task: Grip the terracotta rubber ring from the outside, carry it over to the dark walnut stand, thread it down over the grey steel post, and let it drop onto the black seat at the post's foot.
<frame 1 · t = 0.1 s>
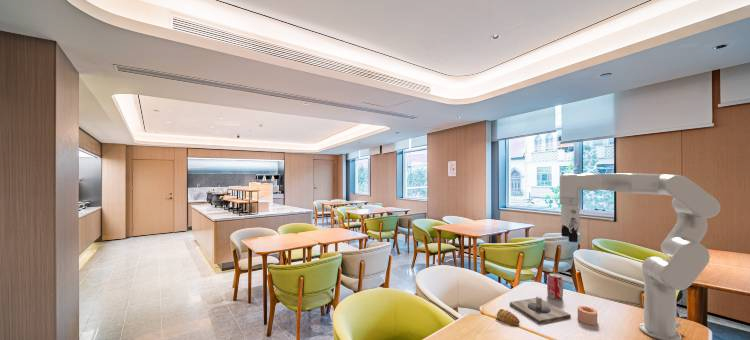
hand: (569, 239, 130), 37 cm above the table, tool pointing down, fingers open, 9 cm apart
soda can: (555, 297, 153), on the table
post stand: (538, 311, 139), on the table
ring: (587, 320, 130), on the table
brown ridged oval piece: (507, 320, 131), on the table
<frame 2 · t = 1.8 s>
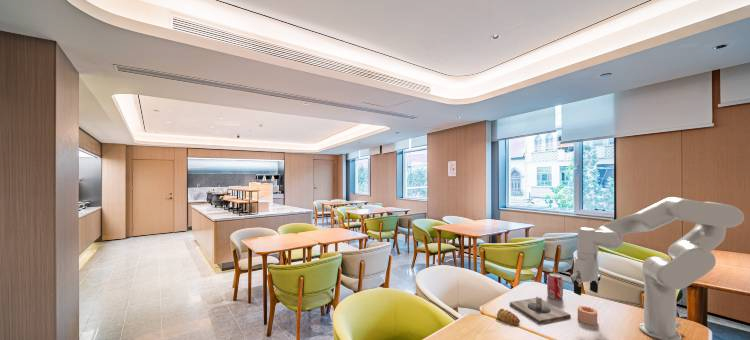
hand: (585, 292, 130), 13 cm above the table, tool pointing down, fingers open, 9 cm apart
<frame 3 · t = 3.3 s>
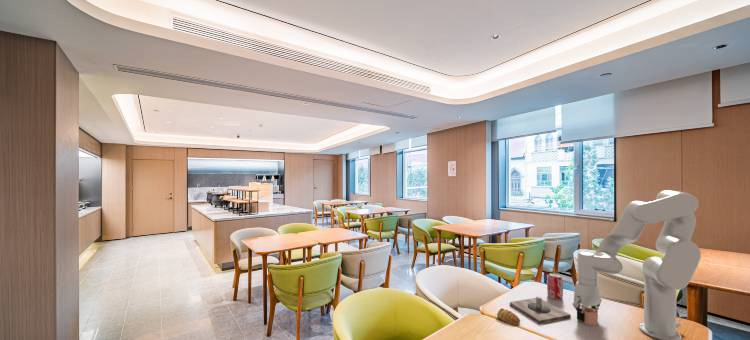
hand: (587, 318, 130), 1 cm above the table, tool pointing down, fingers closed on ring, 7 cm apart
ring: (587, 320, 130), on the table, touching gripper
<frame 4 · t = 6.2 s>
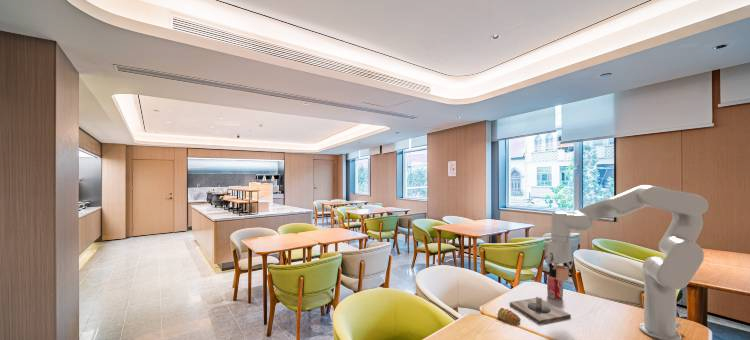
hand: (559, 275, 135), 19 cm above the table, tool pointing down, fingers closed on ring, 7 cm apart
ring: (559, 277, 135), point 18 cm above the table, touching gripper
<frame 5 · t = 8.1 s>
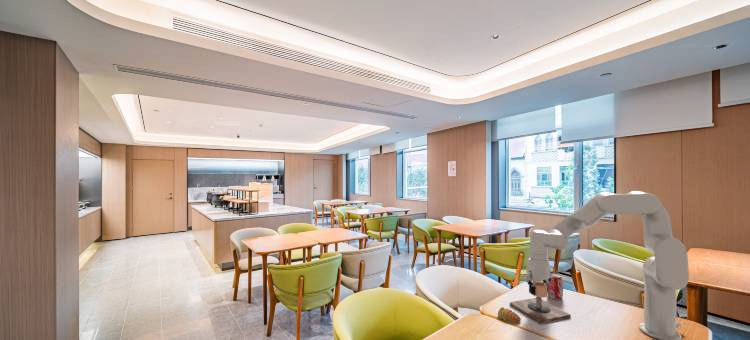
hand: (538, 292, 138), 9 cm above the table, tool pointing down, fingers closed on ring, 7 cm apart
ring: (538, 294, 138), point 8 cm above the table, touching gripper
when the fingers open (5 cm above the table, at t = 9.5 s): ring drops 2 cm, resting on post stand.
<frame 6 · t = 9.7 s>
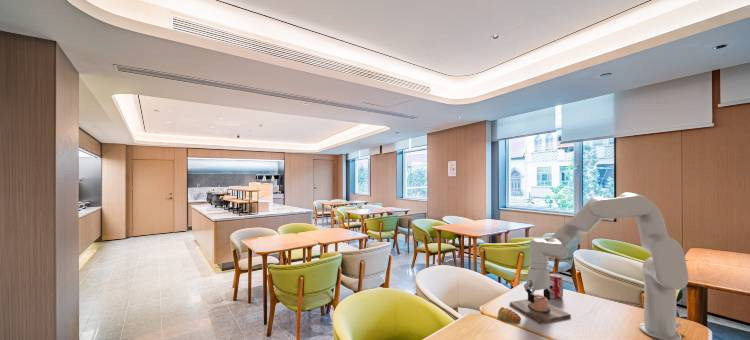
hand: (538, 300, 138), 5 cm above the table, tool pointing down, fingers open, 9 cm apart
ring: (538, 307, 138), point 2 cm above the table, touching post stand
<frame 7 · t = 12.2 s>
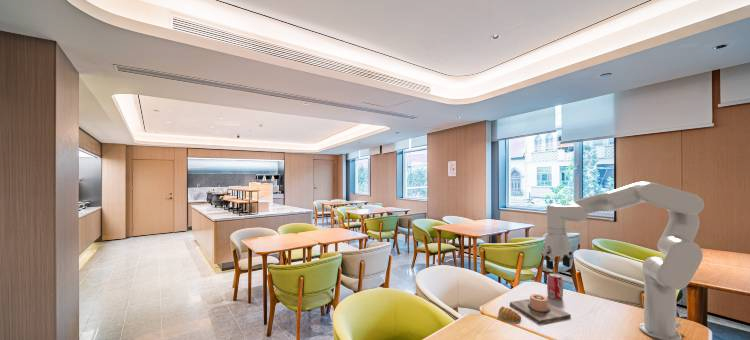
hand: (558, 267, 134), 23 cm above the table, tool pointing down, fingers open, 9 cm apart
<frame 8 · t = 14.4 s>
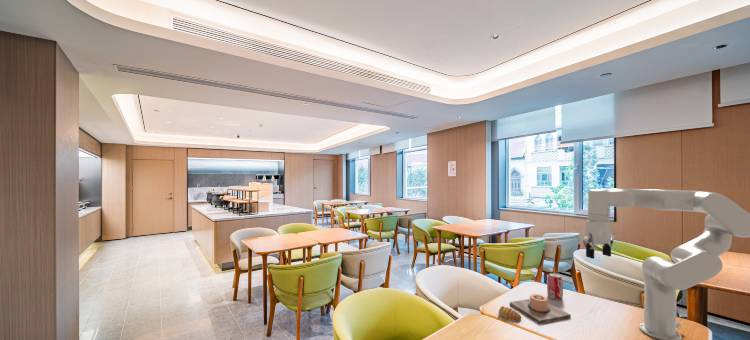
hand: (598, 256, 126), 30 cm above the table, tool pointing down, fingers open, 9 cm apart
at the end: ring 0.1 cm from the post stand (horizontally); ring point 1.7 cm above the table; the gripper is holding nothing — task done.
